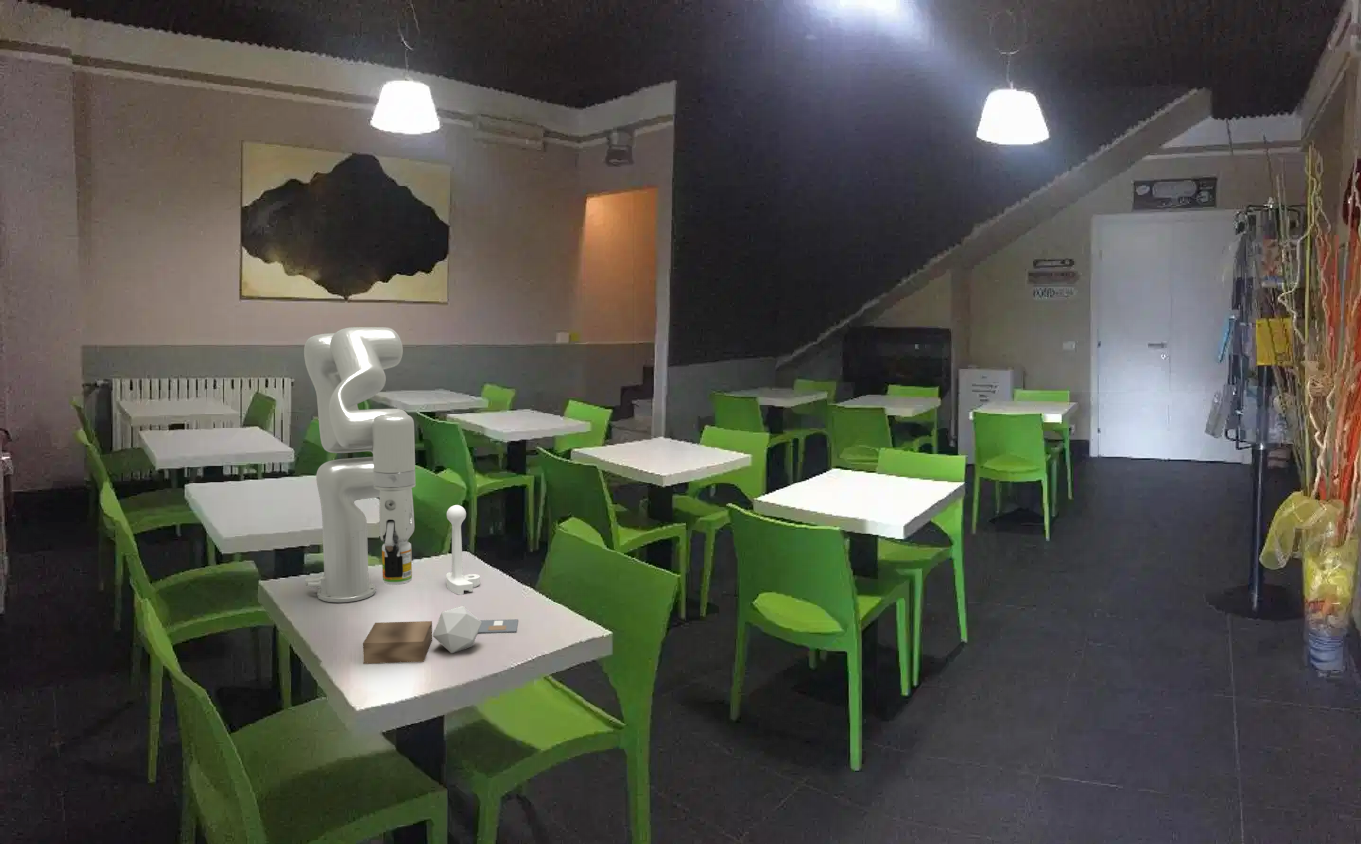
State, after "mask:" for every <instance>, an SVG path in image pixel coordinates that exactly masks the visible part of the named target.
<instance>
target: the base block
mask: <svg viewBox="0 0 1361 844" xmlns="http://www.w3.org/2000/svg"><path fill="white" fill-rule="evenodd" d="M366 635H367V636H366V637H365V639H364V640H363V643H362V660H363V661H362V662H363V665H365V664H366V665H369V664H372V665H373V664H395V663H396V664H397V663H398V664H399V663H424V662H425V659H426V658H427V655H428V652H429V649H430V647H431V645H432V642H433V621H432V620H429V621H428V620H423V621H388V622H387V621H386V622H385V621H384V622H374V623H373V625H372V627H371V629H370V630H369V632H368V634H366Z"/></svg>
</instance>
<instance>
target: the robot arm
mask: <svg viewBox="0 0 1361 844" xmlns="http://www.w3.org/2000/svg"><path fill="white" fill-rule="evenodd" d="M303 347H304V349H303V356H304V362H305V367H306V370H307V374H308V376H309V378H310V379H311V383H312V385H313V387H314V390H315V393H316V403H317V413H318V414H317V416H318V426H319V429H318V430H319V436H320V443H321V446H322V448H323V450H324V451H326V452H328V453H331V454H345V453H347V454H348V453H361V452H371V453H372V456H367V457H364V456H363V457H352V458H339V459H338V458H337V459H333V460H329V461H325V462H324V463H322V464H321V465H320V466H319V467H318V469H317V471H316V476H315V477H316V480H315V481H316V486H317V491H318V497H319V500H320V501H319V502H320V507H321V520H322V521H321V523H322V545H323V546H322V547H323V548H322V551H323V573H324V574H323V575H320V576H319V577H315V576H310V577H309V576H307V577H306V578H305V579H304V580H305V582H304V583H305V586H308V587H307V588H309V589H311V588H318V589H319V590H318V591H317V598H318V599H319V600H320V601H324V602H329V603H351V602H357V601H362V600H365V599H368V598H370V597H372V596H373V595H375V594H376V591H377V589H376V588H377V587H376V585H375V584H373V583H371V582H369V557H368V556H369V553H368V551H369V550H368V549H369V548H368V547H369V545H368V522H367V518H366V517H367V516H366V515H365V512H364V511H362V510H361V508H359V507H358V506H357V505H356V503H355V502H356V501H361V500H365V499H369V500H370V499H376V498H379V500H378V501H379V502H378V503H379V505H378V506H379V508H378V509H379V510H378V511H379V536H380V540H381V541H382V542H383V543H385V557H384V559H385V577H387V578H390V577H402V576H403V556H401V540H403V541H404V542H405V541H408V542H409V539H410V537H411V536H412V535H413V533H414V532H415V512H414V499H413V498H414V497H413V489H412V488H415V487H417V486H416V453H415V452H416V450H415V449H416V448H415V446H416V444H415V421H414V419H413V417H412V416H411V415H408V413H407V412H406V411H405V410H404V409H402V408H373V409H372V408H371V409H359V407H358V404H360V403H362V402H365V401H367V400H369V399H371V398H373V397H375V396H376V395H378V394H379V393H380V392H381V391H382V390H383V389H384V387H385V385H386V382H387V381H386V379H387V377H386V373H385V371H384V370H388V369H391V368H394V367H396V366H398V365H399V364H400V362H401V360H402V357H403V354H404V351H403V350H404V348H403V342H402V340H401V338H400V335H399V334H398V332H396V331H395V330H394V329H393V328H391V327H385V326H384V327H381V326H379V327H378V326H377V327H375V326H372V327H370V326H364V327H360V326H357V327H356V326H355V327H354V326H351V327H346V328H342V329H339V330H338V331H336V332H335V333H334V332H333V333H321V334H315V335H312V336H311V337H308V339H307V340H306V341H305V344H304V346H303ZM394 537H398V540H394ZM394 544H397V547H396V545H394Z"/></svg>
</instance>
